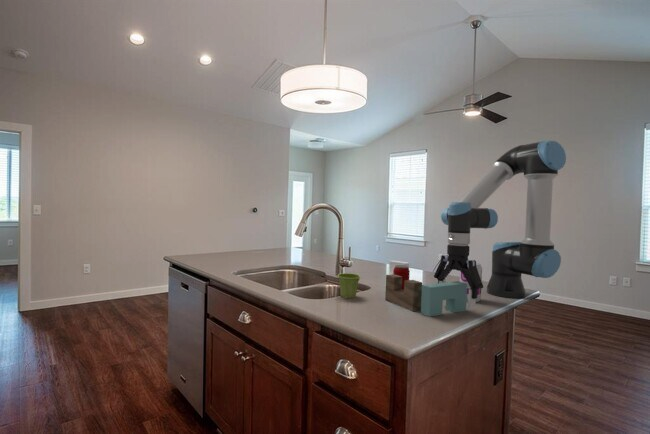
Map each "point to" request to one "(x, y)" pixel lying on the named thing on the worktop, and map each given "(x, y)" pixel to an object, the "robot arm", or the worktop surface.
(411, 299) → the brown wooden notched block
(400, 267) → the beverage can
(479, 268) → the supplement can
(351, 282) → the plant pot
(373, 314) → the worktop surface
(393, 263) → the cylinder with rectangular tab
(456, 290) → the teal tunnel brick
